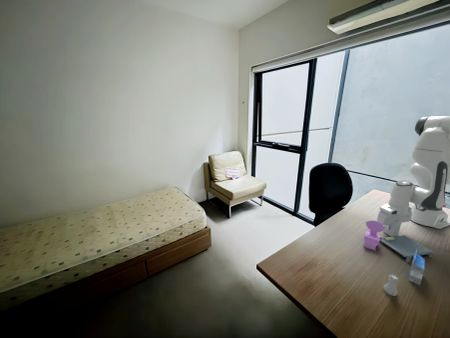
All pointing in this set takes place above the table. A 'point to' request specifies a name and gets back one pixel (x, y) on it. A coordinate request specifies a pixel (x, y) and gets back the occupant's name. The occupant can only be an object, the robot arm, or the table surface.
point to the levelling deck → (405, 246)
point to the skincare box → (393, 228)
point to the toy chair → (373, 234)
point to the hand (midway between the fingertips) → (391, 228)
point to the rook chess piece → (391, 285)
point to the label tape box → (417, 269)
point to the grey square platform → (409, 256)
